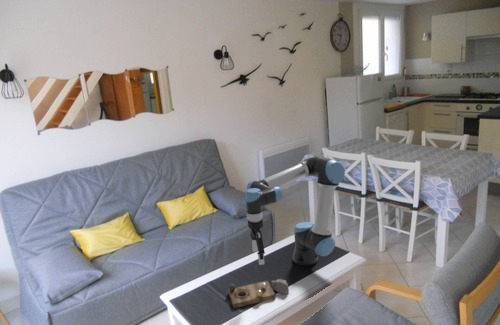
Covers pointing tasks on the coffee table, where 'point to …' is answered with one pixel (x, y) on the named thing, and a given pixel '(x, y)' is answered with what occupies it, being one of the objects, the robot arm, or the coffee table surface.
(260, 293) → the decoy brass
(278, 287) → the stone
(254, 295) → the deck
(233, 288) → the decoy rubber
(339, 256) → the coffee table surface
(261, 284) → the ball
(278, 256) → the coffee table surface
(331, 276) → the coffee table surface
